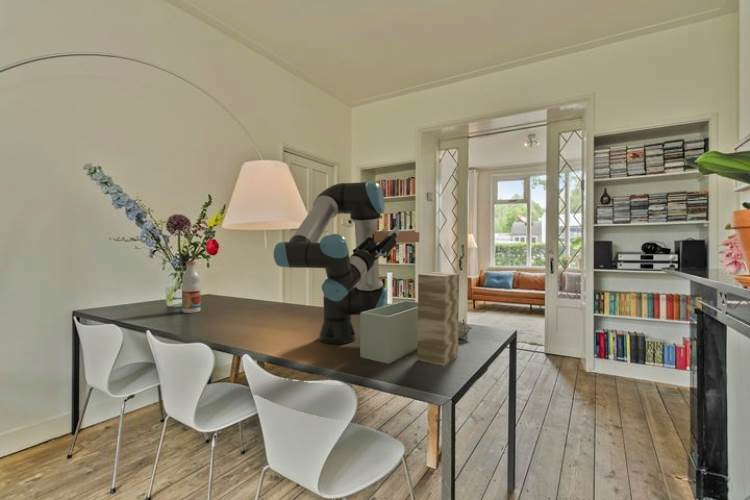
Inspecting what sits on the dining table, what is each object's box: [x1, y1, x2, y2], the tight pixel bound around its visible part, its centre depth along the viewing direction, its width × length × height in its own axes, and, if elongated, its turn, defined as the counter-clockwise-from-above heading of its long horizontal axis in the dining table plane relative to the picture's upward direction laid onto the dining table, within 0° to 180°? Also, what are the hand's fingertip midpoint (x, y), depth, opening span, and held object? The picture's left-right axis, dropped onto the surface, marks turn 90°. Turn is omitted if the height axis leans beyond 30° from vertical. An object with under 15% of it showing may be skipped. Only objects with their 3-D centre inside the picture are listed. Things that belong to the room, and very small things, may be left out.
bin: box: [359, 300, 418, 365], centre depth 138 cm, size 31×12×16 cm, turn 145°
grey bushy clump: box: [458, 318, 473, 340], centre depth 154 cm, size 9×8×10 cm
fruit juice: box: [181, 261, 202, 314], centre depth 205 cm, size 9×9×28 cm
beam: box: [374, 230, 420, 244], centre depth 137 cm, size 26×4×4 cm, turn 145°
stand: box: [416, 271, 460, 367], centre depth 128 cm, size 12×10×30 cm
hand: (392, 229), depth 133 cm, fingers closed on beam, 4 cm apart
